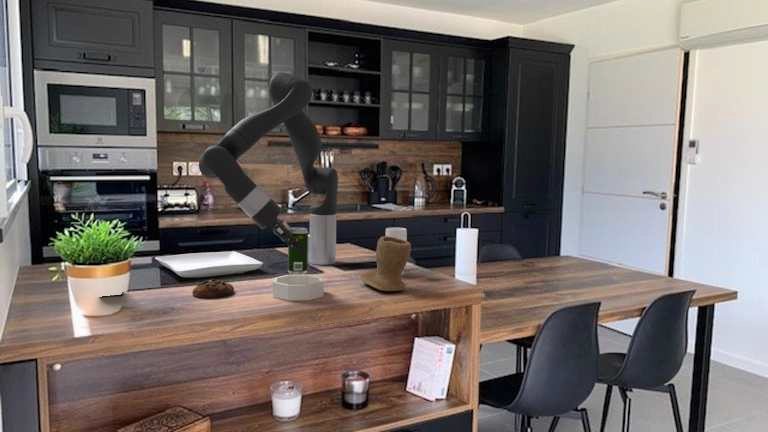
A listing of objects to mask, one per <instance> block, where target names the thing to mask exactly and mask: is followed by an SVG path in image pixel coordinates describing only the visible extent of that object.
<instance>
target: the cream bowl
mask: <svg viewBox="0 0 768 432" xmlns="http://www.w3.org/2000/svg"><path fill="white" fill-rule="evenodd" d="M324 284H325V282H324V278H323V277H322V276H318V275H314V274H307V273H305V274H285V275H281V276H277V277H276V276H275V277H273V279H272V298H275V299H280V300H283V301H287V302H288V301H289V302H293V301H311V300H316V299H319V298H321V297H324V295H325V294H324Z"/></svg>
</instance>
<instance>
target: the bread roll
mask: <svg viewBox="0 0 768 432" xmlns="http://www.w3.org/2000/svg"><path fill="white" fill-rule="evenodd" d="M234 291H235V288H234V286H233V285H232V284H231V283H229V282H226V281H223V280H222V279H219V280H217V279H216V278H215V279H214V278H213V279H206V280H203V281H201V282H199V283H198V284H197V285H196V286H195V287H194V288H193V289H192V293H191V294H192V295H193V296H194V297H195V298H202V299H222V297H224V298H227V297H229V296H232V295H233V293H234ZM226 296H227V297H226Z"/></svg>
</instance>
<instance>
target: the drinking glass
mask: <svg viewBox="0 0 768 432" xmlns="http://www.w3.org/2000/svg"><path fill="white" fill-rule="evenodd" d="M407 231H408V230H407V228H404V227H386V228H385V236H388V237H394V238H397V239H402V240H405V241H407V240H408V239H407V238H408V236H407V235H408V233H407ZM404 273H405V271H404V270H403V272H402V276H404Z"/></svg>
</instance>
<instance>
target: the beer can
mask: <svg viewBox="0 0 768 432" xmlns="http://www.w3.org/2000/svg"><path fill="white" fill-rule="evenodd" d="M290 229H291V230H292V231H293V233H294V234H293V235H294V236H295V237H296V238H297V239H298V241H299V242H300V243H301V244H302V245H303V246H304V247H305V248H306V249H307V253H306V254H305V255H304V256H301V255H300V254H299V253H298V252H297V251H296V250H295V249H294V248H293V247H290V246H288V245H287V272H288V273H289V274H290V275H305V274H307V272H308V271H309V269H308V268H309V266H308V265H309V262H308V235H309V231H308V228H306V227H301V226H300V227H299V226H298V227H295V226H294V227H291V228H290ZM291 239H292V238H291V237H290V238H289V239H288V241H290V240H291Z"/></svg>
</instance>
